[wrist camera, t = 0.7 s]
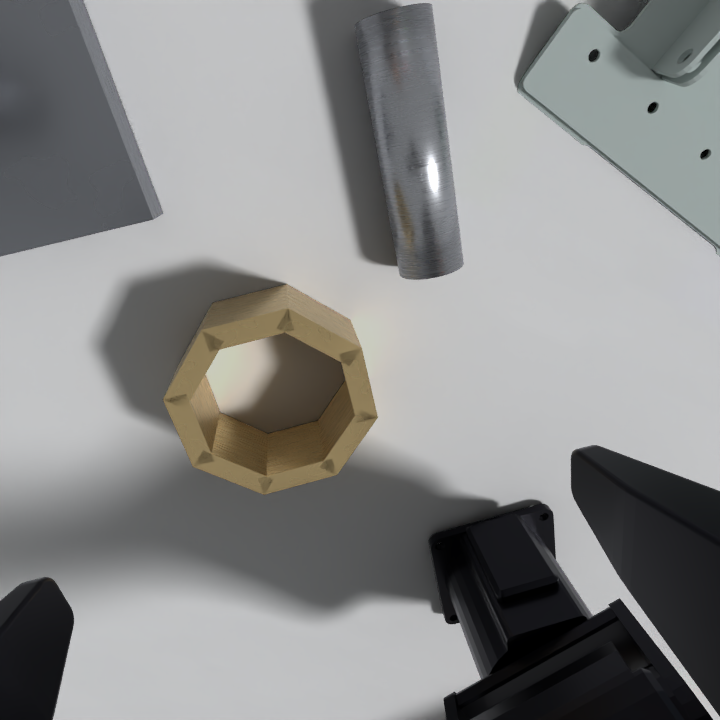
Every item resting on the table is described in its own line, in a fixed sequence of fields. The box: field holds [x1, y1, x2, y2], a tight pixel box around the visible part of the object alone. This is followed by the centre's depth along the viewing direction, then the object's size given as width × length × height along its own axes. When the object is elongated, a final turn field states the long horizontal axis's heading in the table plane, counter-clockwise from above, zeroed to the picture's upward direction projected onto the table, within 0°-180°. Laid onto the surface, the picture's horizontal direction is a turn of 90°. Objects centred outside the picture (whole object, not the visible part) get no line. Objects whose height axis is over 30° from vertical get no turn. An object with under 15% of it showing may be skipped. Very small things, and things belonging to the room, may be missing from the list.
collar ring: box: [163, 284, 378, 495], centre depth 19 cm, size 7×7×3 cm
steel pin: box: [354, 3, 464, 279], centre depth 17 cm, size 8×2×2 cm, turn 12°
